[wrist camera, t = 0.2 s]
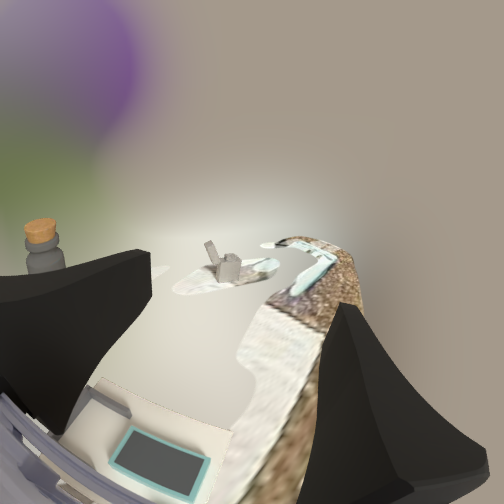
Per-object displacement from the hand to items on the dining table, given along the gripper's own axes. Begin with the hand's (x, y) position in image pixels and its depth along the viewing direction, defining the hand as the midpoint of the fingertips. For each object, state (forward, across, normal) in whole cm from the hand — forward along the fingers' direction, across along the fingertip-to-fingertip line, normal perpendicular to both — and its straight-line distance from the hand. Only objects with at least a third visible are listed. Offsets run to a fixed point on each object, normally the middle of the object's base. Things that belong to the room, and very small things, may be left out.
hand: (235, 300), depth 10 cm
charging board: (-2, +7, +21) cm, 22 cm away
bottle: (+10, +28, +21) cm, 37 cm away
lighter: (+34, +11, +22) cm, 42 cm away
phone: (-2, +4, +20) cm, 21 cm away
